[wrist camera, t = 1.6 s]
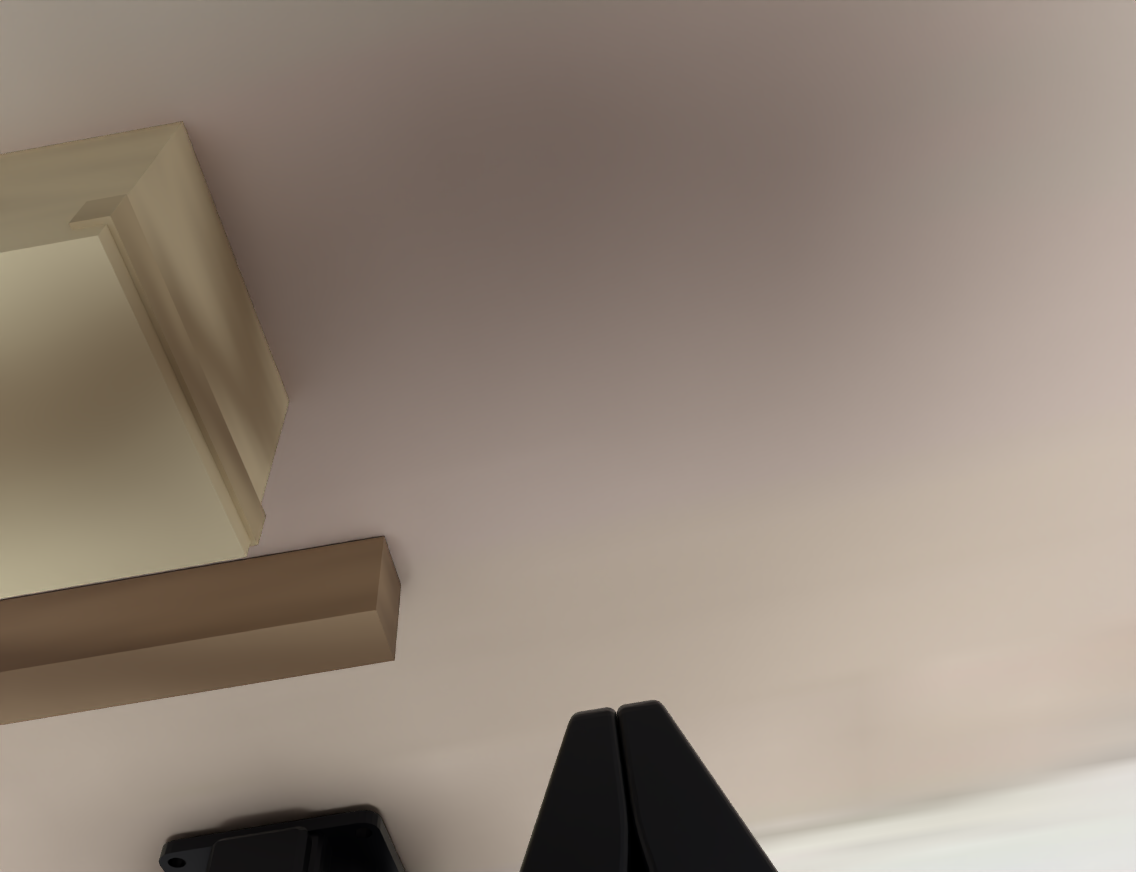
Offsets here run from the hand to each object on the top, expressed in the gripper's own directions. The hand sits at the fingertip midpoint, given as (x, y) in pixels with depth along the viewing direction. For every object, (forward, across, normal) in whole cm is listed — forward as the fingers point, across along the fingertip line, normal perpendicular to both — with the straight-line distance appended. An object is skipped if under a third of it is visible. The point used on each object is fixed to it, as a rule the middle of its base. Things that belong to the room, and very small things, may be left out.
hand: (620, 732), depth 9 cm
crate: (+12, +9, 0) cm, 15 cm away
